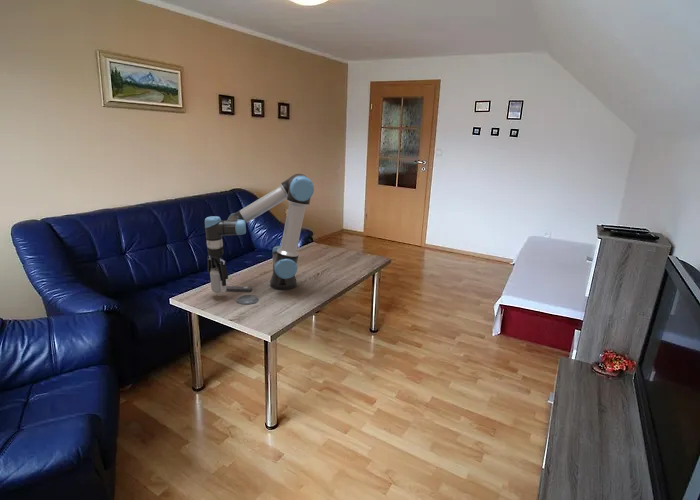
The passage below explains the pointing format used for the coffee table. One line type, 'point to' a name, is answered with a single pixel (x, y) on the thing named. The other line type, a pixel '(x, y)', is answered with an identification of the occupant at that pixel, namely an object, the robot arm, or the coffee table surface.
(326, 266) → the coffee table surface
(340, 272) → the coffee table surface
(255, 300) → the coaster
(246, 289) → the remote
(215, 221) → the robot arm
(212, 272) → the can
